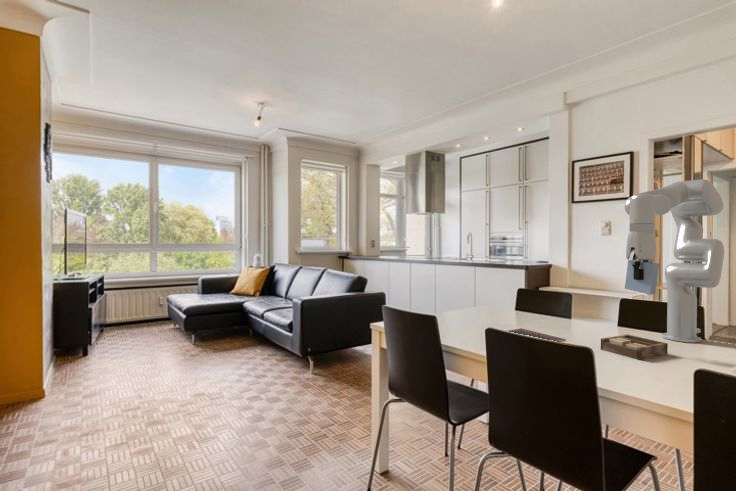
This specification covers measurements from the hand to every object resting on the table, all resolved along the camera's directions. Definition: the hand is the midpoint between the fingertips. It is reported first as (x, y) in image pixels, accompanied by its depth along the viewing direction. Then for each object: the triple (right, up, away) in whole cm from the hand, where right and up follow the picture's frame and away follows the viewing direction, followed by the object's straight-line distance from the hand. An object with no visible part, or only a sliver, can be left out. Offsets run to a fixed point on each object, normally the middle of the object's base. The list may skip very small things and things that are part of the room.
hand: (641, 279), depth 142 cm
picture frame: (-32, -28, +21) cm, 47 cm away
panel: (0, -5, +1) cm, 5 cm away
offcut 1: (-8, -26, 0) cm, 27 cm away
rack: (-4, -27, -1) cm, 27 cm away
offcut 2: (-5, -26, -5) cm, 27 cm away
